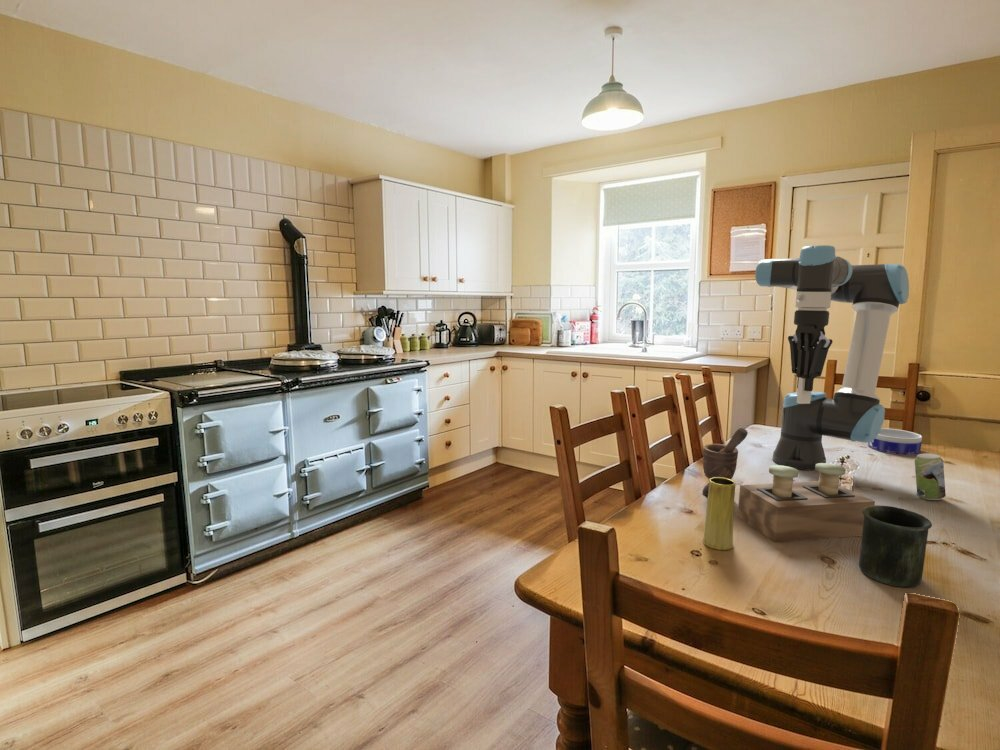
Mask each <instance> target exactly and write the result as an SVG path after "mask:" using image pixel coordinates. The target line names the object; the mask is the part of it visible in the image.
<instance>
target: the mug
mask: <svg viewBox="0 0 1000 750" xmlns="http://www.w3.org/2000/svg"><path fill="white" fill-rule="evenodd" d="M862 513H863V515H864V522H863V531H862V536H861V542H860V550H859V551H860V552H859V560H858V566H859V568H860V571H861V572H862V573H863V574H864V575H865V576H867V577H868V578H870V579H872V580H875V581H876V582H877V581H878V582H879V583H883V584H884V585H885V584H886V585H889V586H893V587H898V588H899V587H900V588H913V587H912V586H914V587H917V586H918V585H920V584H921V582H923V581H922V580H923V573H924V568H925V567H924V566H925V560H926V559H925V557H926V552H927V551H926V550H927V545H928V544H927V542H928V535H929V530H930V529H931V528H932V527H933V523H932V521H931V520H930V519H929V518H927V517H926V516H924V515H922V514H920V513H917V512H916V511H912V510H909V509H904V508H901V507H896V506H889V505H882V504H881V505H880V504H879V505H876V504H875V506H868V507H865V508H864V509H863V510H862Z"/></svg>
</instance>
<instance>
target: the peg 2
mask: <svg viewBox="0 0 1000 750" xmlns="http://www.w3.org/2000/svg"><path fill="white" fill-rule="evenodd" d="M815 471H816V472H818V473H819V475H818V476H819V478H818V481H819V486H818V491H819V492H821V493H823V494H825V495H838V487H839V485H840V476H844V475H845V474H846V468H845V467H844V466H841V465H839V464H835V463H828V462H826V463H818V464H816V466H815Z"/></svg>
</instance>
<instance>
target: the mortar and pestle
mask: <svg viewBox="0 0 1000 750" xmlns="http://www.w3.org/2000/svg"><path fill="white" fill-rule="evenodd" d="M748 434H749V433H748V431H747V430H746V428H743V427H740V428H738V429H737V430H736V431H735V432H734V433H733V435H732V436H731V438H730V440H729V441H728V443H727V444H722V443H709V444H705V445H704V446H703V450H702V451H703V453H702V468H703V473H704V476H705V477H706V478H707V480H709V479H710V478H713V477H723V478H728V479H731V480H733V477H734V475H735V473H736V469H737V465H738V464H737V463H738V456H739V454H738V453H739V450H738V449H737V447H738V446H739V445H740V444H742V442H743V441H744V440H745V439H746V438H747V436H748ZM708 487H709V482H708V483H707V484H706V485H704V487H703V488H702V494H703V495H704V496H705V497H708Z"/></svg>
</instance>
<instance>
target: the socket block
mask: <svg viewBox="0 0 1000 750" xmlns="http://www.w3.org/2000/svg"><path fill="white" fill-rule="evenodd" d="M818 486H819V480H814V481H813V480H812V481H796V482H795V481H793V484H792V495H791V497H788V498H778V497H776V496H774V495H772V487H773V482H771V483H757V484H755V483H754V484H741V485H739V496H738V507H737V508H738V509H737V510H738V511H737V517H738V518H739V519H740V520H742V521H744V522H745V523H746V524H747V525H749V526H751V527H752V528H753V529H755V530H756V531H758V532H759V531H760V533H761V534H762V533H763V535H764V536H765V537H767V538H768V539H770V540H771V541H772V542H774V543H782V542H783V541H784V542H795V541H796V540H798V541H808V540H809V541H810V540H823V539H837V538H839V539H840V538H847V537H849V538H850V537H862V531H863V522H864V515H863V513H862V510H863V509H864V508H865V507H868V506H875V505H876V500H873V499H870V498H869V497H866V496H864V495H862V494H859V493H857V492H854V491H853V490H851V489H848V488H846V487H844V486H842V485H840V484H839V487H838V495H825V494H823V493H821V492H819V491H818ZM784 542H783V543H784ZM796 542H797V541H796Z"/></svg>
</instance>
